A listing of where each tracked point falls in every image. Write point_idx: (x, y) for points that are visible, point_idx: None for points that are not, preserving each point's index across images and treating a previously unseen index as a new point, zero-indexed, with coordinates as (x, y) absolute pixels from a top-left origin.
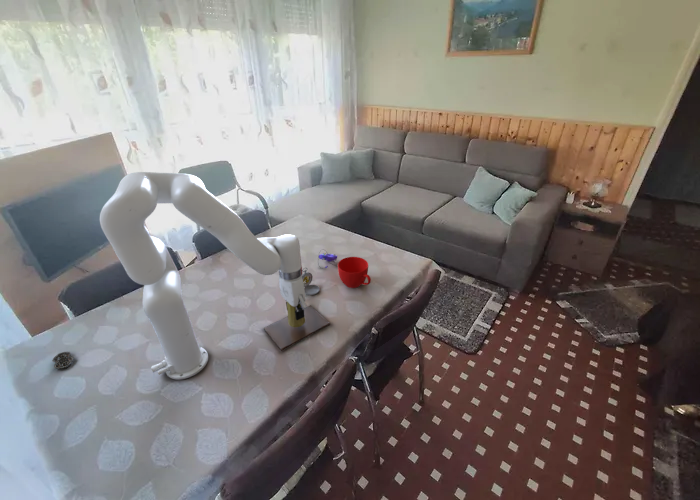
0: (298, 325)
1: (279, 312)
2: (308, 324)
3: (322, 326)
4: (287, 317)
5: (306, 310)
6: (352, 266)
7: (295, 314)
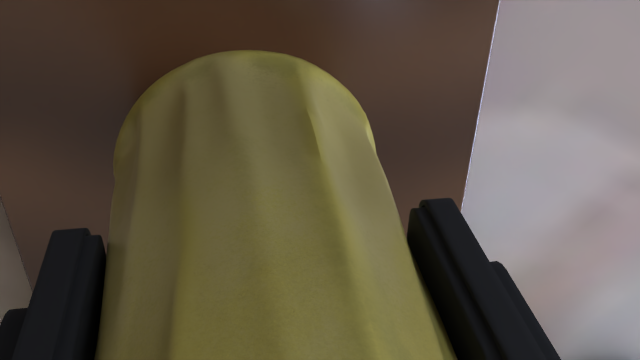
0: (118, 159)
1: (634, 53)
2: None
3: None
4: (462, 95)
5: None
6: None
7: (51, 333)
